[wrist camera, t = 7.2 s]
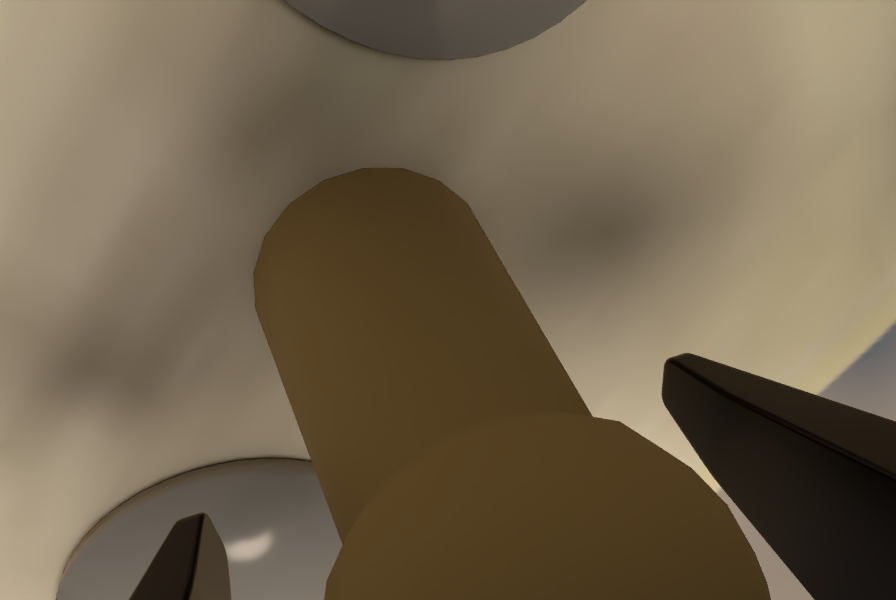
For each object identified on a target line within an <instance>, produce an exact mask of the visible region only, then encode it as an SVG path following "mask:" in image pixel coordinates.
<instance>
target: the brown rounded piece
mask: <svg viewBox="0 0 896 600" xmlns="http://www.w3.org/2000/svg"><path fill="white" fill-rule="evenodd" d="M253 274H254V290H255V307H256V311H257V314H258V317H259V319H260V322H261V325H262V327H263V330H264V333H265V336H266V338H267V341H268V344H269V346H270V349H271V352H272V355H273V357H274V360H275V363H276V366H277V368H278V371H279V374H280V376H281V379H282V382H283V385H284V387H285V390H286V393H287V395H288V398H289V401H290V404H291V406H292V409H293V412H294V415H295V417H296V420H297V423H298V425H299V428H300V431H301V434H302V436H303V439H304V442H305V444H306V447H307V450H308V453H309V455H310V458H311V461H312V463H313V466H314V469H315V472H316V474H317V477H318V480H319V483H320V485H321V488H322V491H323V493H324V496H325V499H326V502H327V504H328V507H329V510H330V512H331V515H332V518H333V521H334V523H335V526H336V529H337V532H338V534H339V537H340V540H341V542H342V545H343V546H342V548H341V550H340V552H339V554H338V557H337V559H336V561H335V563H334V565H333V568H332V570H331V572H330V574H329V576H328V579H327V581H326V588H325V596H324V600H771V598H770V594H769V589H768V585H767V582H766V579H765V577H764V574H763V572H762V570H761V567H760V564H759V562H758V560H757V557H756V555H755V552H754V551H753V549H752V547H751V545H750V544H749V542H748V540H747V538H746V537H745V535H744V533H743V532H742V530H741V528H740V527H739V525H738V523H737V521H736V519H735V518H734V516H733V514H732V513H731V511H730V509H729V507H728V506H727V504H726V503H725V502H724V501H723V500H722V499H721V498H720V497H719V496H718V495H717V494H716V493H715V492H714V491H713V490H712V489H711V488H710V487H709V486H708V485H707V484H706V483H705V482H704V480H703V479H702V478H701V477H700V476H699V475H698V474H697V473H696V472H695V471H694V470H693V469H692V468H691V467H689V466H688V465H686V464H684V463H683V462H681V461H680V460H678V459H677V458H675V457H674V456H672V455H671V454H669V453H668V452H666V451H665V450H663V449H662V448H660V447H659V446H657V445H656V444H654V443H652V442H651V441H649V440H648V439H646V438H645V437H643V436H641V435H640V434H638V433H637V432H635V431H634V430H632V429H630V428H629V427H627V426H626V425H624V424H623V423H621V422H619V421H614V420H608V419H602V418H596V417H592V415H591V413H590V411H589V410H588V408H587V406H586V405H585V403H584V401H583V400H582V398H581V396H580V394H579V393H578V391H577V389H576V388H575V386H574V384H573V383H572V381H571V379H570V377H569V376H568V374H567V372H566V371H565V369H564V367H563V366H562V364H561V362H560V360H559V359H558V357H557V355H556V354H555V352H554V350H553V349H552V347H551V345H550V343H549V342H548V340H547V338H546V337H545V335H544V333H543V332H542V330H541V328H540V326H539V325H538V323H537V321H536V320H535V318H534V316H533V315H532V313H531V311H530V309H529V308H528V306H527V304H526V303H525V301H524V299H523V298H522V296H521V294H520V292H519V291H518V289H517V287H516V286H515V284H514V282H513V281H512V279H511V277H510V275H509V274H508V272H507V270H506V269H505V267H504V265H503V264H502V262H501V260H500V258H499V257H498V255H497V253H496V252H495V250H494V248H493V247H492V245H491V243H490V242H489V240H488V238H487V236H486V235H485V233H484V231H483V230H482V228H481V226H480V225H479V223H478V221H477V219H476V218H475V216H474V214H473V213H472V211H471V209H470V208H469V206H468V204H467V203H466V202H465V201H463V200H462V199H461V198H460V197H459V196H457V195H456V194H455V193H454V192H452V191H451V190H450V189H449V188H447V187H446V186H445V185H444V184H443V183H441V182H440V181H438V180H435V179H432V178H429V177H426V176H423V175H421V174H418V173H415V172H412V171H409V170H406V169H388V168H363V169H360V170H356V171H353V172H350V173H346V174H343V175H340V176H337V177H333V178H330V179H327V180H324V181H322V182H321V183H319V184H318V185H316V186H315V187H314V188H312V189H311V190H309V191H308V192H306V193H305V194H303V195H302V196H301V197H299V198H298V199H296V200H295V201H293V202H292V203H290V204H289V205H288V207H287V208H286V209H285V211H284V212H283V213H282V215H281V216H280V217H279V219H278V220H277V221H276V223H275V224H274V225H273V227H272V228H271V229H270V231H269V232H268V233H267V235H266V236H265V238H264V241H263V244H262V247H261V251H260V254H259V257H258V260H257V263H256V267H255V270H254V273H253Z"/></svg>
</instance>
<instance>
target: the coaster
mask: <svg viewBox="0 0 896 600" xmlns="http://www.w3.org/2000/svg"><path fill="white" fill-rule="evenodd" d="M285 1H286V2H287V3H288V4H289V5H291V6H292V7H294V8H295V9H297V10H298V11H300V12H302V13H303V14H305V15H306V16H308V17H309V18H311V19H312V20H314V21H315V22H317V23H318V24H320V25H321V26H323V27H325V28H327V29H329V30H331V31H333V32H335V33H337V34H340V35H342V36H344V37H346V38H348V39H350V40H352V41H354V42H356V43H359V44H362V45H365V46H368V47H371V48H374V49H377V50H380V51H383V52H386V53H390V54H395V55H401V56H406V57H412V58H417V59H439V60H452V59H461V58H470V57H478V56H482V55H486V54H490V53H493V52H497V51H501V50H505V49H508V48H510V47H513V46H515V45H517V44H520V43H522V42H524V41H527V40H529V39H531V38H534V37H536V36H537V35H539V34H541V33H542V32H544V31H546V30H547V29H549V28H551V27H552V26H554V25H556V24H557V23H559V22H560V21H562V20H563V19H564V18H566V17H567V16H568V15H569V14H571V13H572V12H573V11H574V10H576V9H577V8H578V7H579V6H581V5H582V4H583V3H584V2H586V1H587V0H285Z"/></svg>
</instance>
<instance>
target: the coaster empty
mask: <svg viewBox="0 0 896 600" xmlns="http://www.w3.org/2000/svg"><path fill="white" fill-rule="evenodd" d="M200 512H204V513H206V514H207V515H208V516H209V517H210V519H211V521H212V523H213V525H214V527H215V529H216V530H217V532H218V534H219V536H220V538H221V540H222V542H223V544H224V547H225V549H226V553H227V559H228V568H229V578H230V588H231V598H232V600H324V596H325V588H326V581H327V579H328V576H329V574H330V572H331V570H332V568H333V565H334V563H335V561H336V559H337V557H338V554H339V552H340V550H341V548H342V546H343V545H342V542H341V540H340V537H339V534H338V532H337V529H336V526H335V523H334V521H333V518H332V515H331V512H330V510H329V507H328V504H327V502H326V499H325V496H324V493H323V491H322V488H321V485H320V483H319V480H318V477H317V474H316V472H315V469H314V466H313V463H312V462H310V461H302V460H294V459H253V460H240V461H234V462H228V463H223V464H217V465H212V466H209V467H205V468H201V469H197V470H194V471H190V472H187V473H184V474H182V475H179V476H176V477H173V478H171V479H168V480H165V481H163V482H161V483H159V484H157V485H155V486H153V487H151V488H149V489H147V490H144V491H142V492H141V493H139V494H137V495H136V496H134V497H132V498H131V499H129V500H128V501H126V502H124V503H123V504H121V505H120V506H118V507H117V508H116V509H114V510H113V511H112V512H111V513H109V514H108V515H107V516H105V517H104V518H103V519H102V520H101V521H100V522H99V523H98V524H97V525H96V526H95V527H94V528H93V529H92V530H91V531H90V532H89V533H88V534H87V535H86V536H85V537H84V538H83V540H82V541H81V542H80V544H79V545H78V546H77V548H76V549H75V550H74V552H73V553H72V555H71V557H70V559H69V561H68V563H67V565H66V567H65V569H64V572H63V576H62V579H61V583H60V586H59V589H58V593H57V596H56V600H129V598H130V596H131V595H132V593H133V591H134V590H135V588H136V586H137V585H138V583H139V581H140V580H141V578H142V576H143V575H144V573H145V571H146V570H147V568H148V566H149V565H150V563H151V561H152V560H153V558H154V556H155V555H156V553H157V551H158V550H159V548H160V546H161V545H162V543H163V541H164V540H165V538H166V536H167V535H168V533H169V531H170V530H171V528H172V526H173V525H174V524H175V523H176V522H177V521H178V520H179V519H182V518H185V517H188V516H191V515H194V514H197V513H200Z"/></svg>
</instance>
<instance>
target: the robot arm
mask: <svg viewBox="0 0 896 600" xmlns="http://www.w3.org/2000/svg"><path fill="white" fill-rule="evenodd" d="M662 399H663V402H664V405H665V407H666V408H667V410H668V411H669V413H670V414H671V416H672V417H673V419H674V420H675V422H676V423H677V425H678V426H679V428H680V429H681V431H682V432H683V434H684V435H685V437H686V438H687V440H688V441H689V443H690V444H691V446H692V447H693V448H694V450H695V451H696V453H697V454H698V456H699V457H700V459H701V460H702V462H703V463H704V465H705V466H706V468H707V469H708V470H709V472H710V473H711V475H712V476H713V477H714V479H715V480H716V481H717V482H718V484H719V485H720V486H721V487H722V489H723V490H724V491H725V492H726V493H727V495H728V496H729V497H730V498H731V499H732V500H733V502H734V503H735V504H736V505H737V507H738V508H739V509H740V510H741V512H742V513H743V514H744V515H745V516H746V517H747V519H748V520H749V521H750V522H751V523H752V525H753V526H754V527H755V528H756V530H757V531H758V532H759V533H760V534H761V536H762V537H763V538H764V539H765V540H766V542H767V543H768V544H769V545H770V546H771V548H772V549H773V550H774V551H775V552H776V554H777V555H778V556H779V557H780V559H781V560H782V561H783V562H784V563H785V564H786V566H787V567H788V568H789V569H790V571H791V572H792V573H793V574H794V575H795V577H796V578H797V579H798V580H799V581H800V583H801V584H802V585H803V586H804V587H805V589H806V590H807V591H808V592H809V593H810V595H811V596H812V597H813V598H814V600H896V421H893V420H890V419H886V418H883V417H881V416H877V415H874V414H871V413H868V412H865V411H862V410H859V409H856V408H853V407H850V406H847V405H844V404H841V403H838V402H835V401H832V400H829V399H826V398H823V397H820V396H817V395H814V394H811V393H808V392H805V391H802V390H799V389H796V388H793V387H790V386H787V385H784V384H781V383H778V382H775V381H772V380H769V379H766V378H763V377H760V376H757V375H754V374H751V373H748V372H745V371H742V370H739V369H736V368H733V367H730V366H727V365H724V364H721V363H718V362H715V361H712V360H709V359H706V358H703V357H700V356H697V355H694V354H690V353H684V354H681V355H678V356H674V357H671V358H669V359H667V360H666V362H665V364H664V372H663V383H662ZM129 600H232V598H231V588H230V578H229V568H228V559H227V553H226V549H225V547H224V544H223V542H222V540H221V538H220V536H219V534H218V532H217V530H216V529H215V527H214V525H213V523H212V521H211V519H210V517H209V516H208V515H207V514H206V513H204V512H200V513H197V514H194V515H191V516H188V517H185V518H182V519H179V520H178V521H177V522H176V523H175V524H174V525H173V526H172V528H171V530H170V531H169V533H168V535H167V536H166V538H165V540H164V541H163V543H162V545H161V546H160V548H159V550H158V551H157V553H156V555H155V556H154V558H153V560H152V561H151V563H150V565H149V566H148V568H147V570H146V571H145V573H144V575H143V576H142V578H141V580H140V581H139V583H138V585H137V586H136V588H135V590H134V591H133V593H132V595H131V596H130V598H129Z"/></svg>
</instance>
